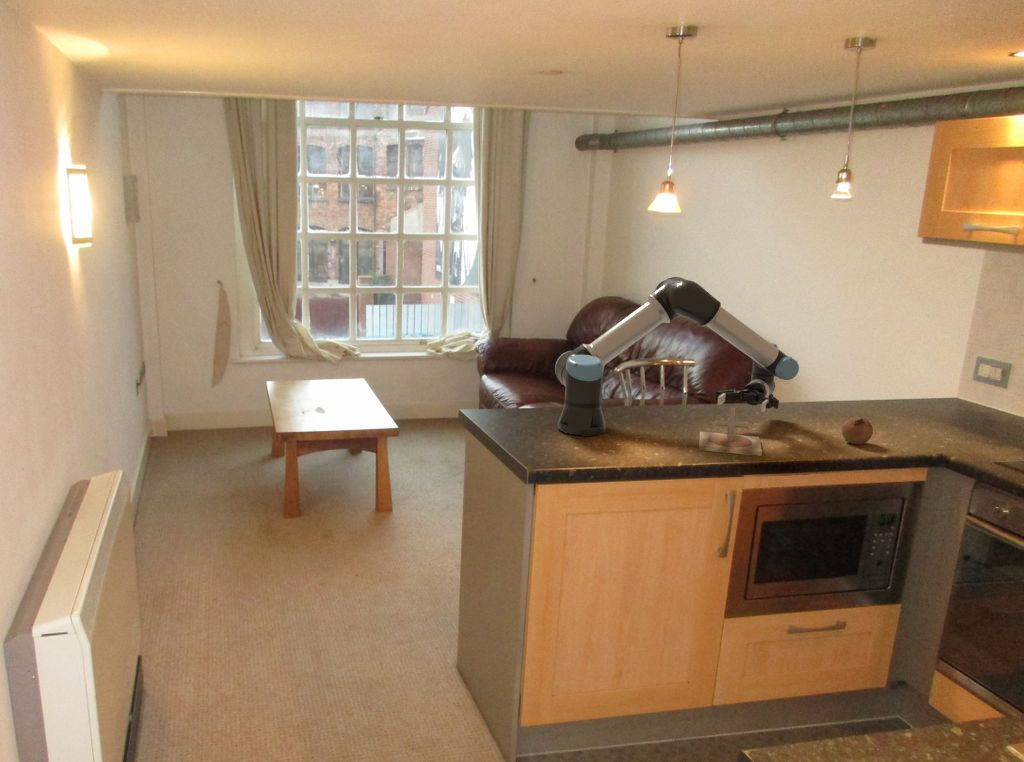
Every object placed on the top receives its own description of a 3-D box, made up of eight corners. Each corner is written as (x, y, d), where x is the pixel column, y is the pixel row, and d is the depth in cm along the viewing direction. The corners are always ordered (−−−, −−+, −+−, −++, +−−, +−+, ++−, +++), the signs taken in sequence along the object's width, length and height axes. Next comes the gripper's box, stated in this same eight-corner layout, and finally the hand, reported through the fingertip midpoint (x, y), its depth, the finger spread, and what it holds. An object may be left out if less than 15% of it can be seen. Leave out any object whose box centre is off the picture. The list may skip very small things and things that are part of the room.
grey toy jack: (748, 445, 243) (751, 413, 241) (713, 442, 245) (716, 410, 243) (745, 437, 252) (748, 405, 250) (712, 434, 254) (715, 403, 252)
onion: (858, 455, 254) (863, 432, 248) (833, 441, 260) (838, 418, 254) (876, 441, 257) (881, 419, 251) (851, 428, 263) (856, 405, 258)
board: (698, 449, 243) (699, 444, 243) (699, 436, 259) (700, 430, 258) (761, 456, 239) (761, 450, 239) (758, 441, 255) (759, 435, 254)
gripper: (792, 408, 268) (780, 422, 250) (717, 398, 280) (700, 410, 262) (795, 386, 267) (782, 398, 249) (719, 376, 278) (702, 387, 260)
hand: (740, 404), depth 255 cm, fingers open, 13 cm apart
